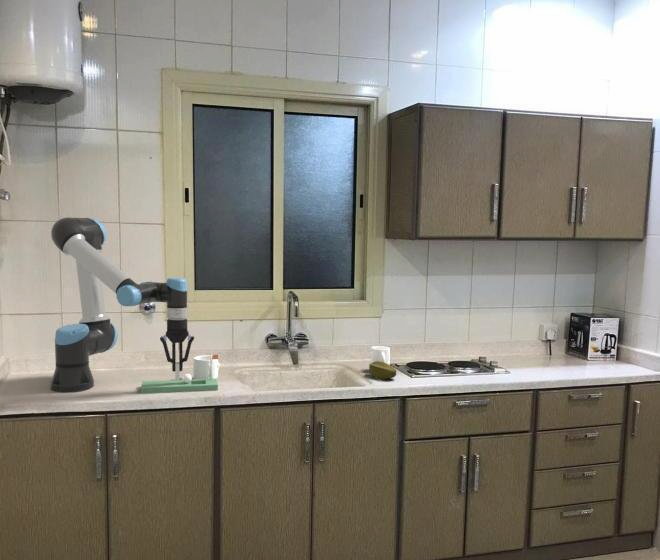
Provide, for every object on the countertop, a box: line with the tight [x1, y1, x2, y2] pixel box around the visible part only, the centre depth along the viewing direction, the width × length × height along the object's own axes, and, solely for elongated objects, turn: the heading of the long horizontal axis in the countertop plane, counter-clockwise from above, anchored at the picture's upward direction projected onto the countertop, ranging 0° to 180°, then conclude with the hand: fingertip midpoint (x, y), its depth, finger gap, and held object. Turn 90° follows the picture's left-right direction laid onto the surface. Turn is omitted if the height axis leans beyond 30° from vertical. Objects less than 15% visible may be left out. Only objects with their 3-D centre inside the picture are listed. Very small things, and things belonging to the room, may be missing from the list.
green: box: [140, 354, 219, 394], centre depth 229 cm, size 29×10×12 cm, turn 105°
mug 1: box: [193, 354, 221, 380], centre depth 242 cm, size 12×10×9 cm
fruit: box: [368, 361, 397, 380], centre depth 254 cm, size 11×12×7 cm
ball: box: [181, 373, 193, 383], centre depth 229 cm, size 4×4×4 cm
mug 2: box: [370, 345, 391, 366], centre depth 264 cm, size 12×8×10 cm
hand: (177, 379), depth 228 cm, fingers closed
